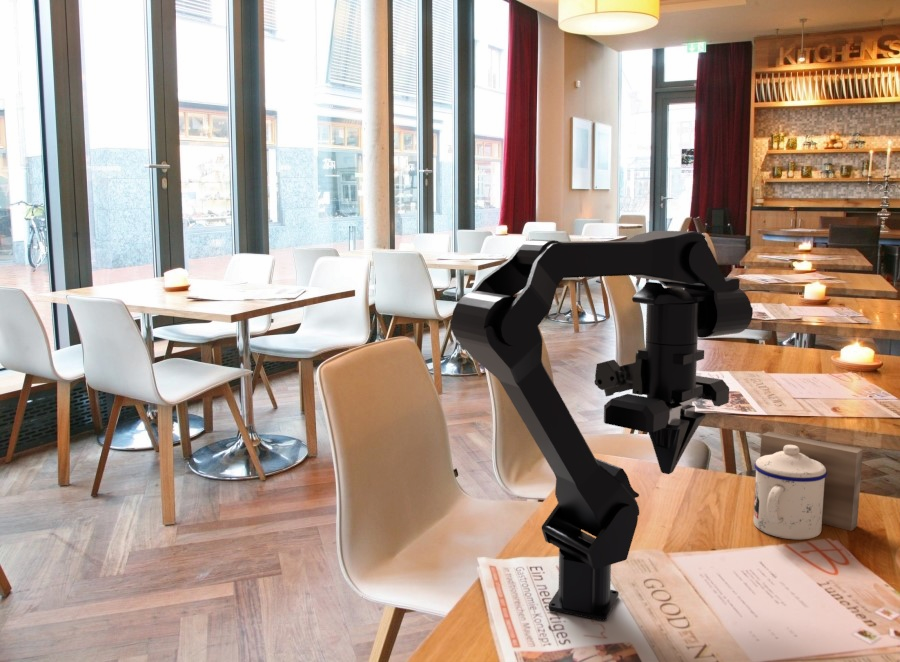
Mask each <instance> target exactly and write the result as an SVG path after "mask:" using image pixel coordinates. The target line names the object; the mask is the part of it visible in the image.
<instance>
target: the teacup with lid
mask: <svg viewBox="0 0 900 662" xmlns="http://www.w3.org/2000/svg"><path fill="white" fill-rule="evenodd" d="M754 469H755V484H754V485H755V486H754V504H753V524H754V526H755V527H756V528H757V529H758V530H760V531H761V532H763V533H764V534H766V535H769V536H772V537H777V538H781V539H785V540H787V539H788V540H799V541H800V540H801V541H802V540H808V539H809V540H810V539H813V538H816V537H818V536H819V535H820V534H821V532H822V525H823V524H822V512H823V496H824V481H825V477H826V476H827V471H826V468H825V467H824V465H823V464H821V463H820V462H818V461H816V460H813V459H810V458H809V457H807V456H806V455H804V454H802V453H799V447H798V446H795V445H785V446H784V448H783V451H779V452H776V453H774V454H772V455H765V456H762V457H760V456H759V457H758V458H757V459H756V461H755V463H754Z"/></svg>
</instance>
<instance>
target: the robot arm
mask: <svg viewBox="0 0 900 662" xmlns="http://www.w3.org/2000/svg"><path fill="white" fill-rule="evenodd" d="M622 276H632V277H636V278H641V279H646V280H650V281H647V282H645V284H644V285H643V287H642V288H641V289H640V290H639V291H637V292H636V293H635V294H634V295H633V296H632V298H631V300H632V302H633V303H636V304H643V305H646V318H645V320H646V321H645V347H644V348H641V349H638V350H637V351H636V353H635V361H634V362H631V363H627V364H622V365H620V364H618V362H617V361H616V360H615V359H610V360H606V361H603V362H599V363H596V367H595V373H594V375H595V376H594V385H595V386H596V387H597V388H598V389H599V390H601V391H604V394H605V397H609V396H611V397H612V396H614V394H616V393H621V392H625V391H629V390H632V392H631V393H626V394H623V395H620V396H616V397H612V398H610V399H609V400H608V401H607V402H606V403H605V404H604V406H603V423H604V424H605V425H611V426H614V427H620V428H625V429H630V430H635V431H638V432H644V433H648V436H649V438H650V440H651V443H652V446H653V449H654V450H653V451H654V453H655V457H656V460H657V464H658V466H659V469H660V472H661V473H663V474H666V475H671V474H672V473H673V472H674V471H675V469H676V467H677V465H678V463H679V461H680V459H681V458H682V456H683V454H684V452H685V450H686V448H687V447H688V445H689V443H690V441H691V439H692V438H693V436H694V435H695V433H696V431H697V429H698V428H699V426H700V425H701V422H703V420H705V419H706V415H707V413H704V412H700V411H696V406H695V405H693V402H695V401H699V400H701V399H702V400H707V401H711V403H712V404H713V405H714V407H722V406H725V405H727V404H728V403H729V402H730V387H729V386H728V385H727V383H726V382H725V381H724V380H723V379H722V378H721V379H720V378H714V377H707V376H701V375H697V368H698V367H697V365H698V364H697V363H698V361H702V360H705V350H704V349H698V343H699V342H698V339H699V338H700V339H702V338H711V337H713V338H714V337H718V336H719V337H720V336H726V335H727V336H728V335H735V334H740V333H742V332H744V331H745V330H746V329H748V327H749V326H750V324H751V321H752V319H753V314H754V311H753V310H754V308H753V306H752V304H751V300H750V298H749V297H748V295H747V294H746V293H745V291H743V290H742V289H741V288H740V282H741V281H740V279H739V278H736V277H735V278H734V277H725V276H724V274H723V272H722V270H721V268H720V266H719V264H718V262H717V260H716V258H715V256H714V254H713V252H712V250H711V247H710V246H709V242H708V241H707V239H706V236H705V234H703V233H702V232H700V231H699V232H698V231H689V230H688V231H685V230H683V231H682V230H652V231H648V232H644V233H640V234H636V235H633V236H632V237H630V238H627V239H624V240H598V241H597V240H591V241H590V240H587V241H584V240H583V241H579V240H577V241H571V240H570V241H559V240H553V239H533V238H532V239H528V240H526V241H525V242H523V243H521V244H520V245H519V246H518V247H517V248H516V249H515V251H514V252H512V254H511V256H510V257H509V258H508V259H507V260H505V261H504V262H502V263H501V264H500V265H499V266H498V267H496V268H495V269H493V270H492V271H491V272H489V273H488V274H486V275H485V276H484V277H483V278H481V280H480V281H479V282H478V284H477V285H476V286H475V287H474V288H473V289H472V291H470V292H468V293H466V294H465V295H463V296H462V297H461V298H460V299H459V300H458V301H457V302H456V305H455V306H454V308H453V311H452V317H451V319H450V322H449V324H450V329H451V331H452V334H453V336H454V338H455V339H456V340H457V341H458V343H459V344H460V345H461V346H462V347H463V349H465V351H466V352H467V353H468V354H469V355H470V356H471V358H473V359H474V360H475V361H476V362H477V363H479V364H480V365H481V366H482V367H483V368H484V369H486V371H488V372H489V373H491V375H493V376H494V377H495V378H496V379H497V380H498V381H499V383H500V384H501V386H502V387H503V388H502V389H503V390H504V391H505V393H506V395H507V396H508V398H509V400H510V401H511V403H512V405H513V406H514V409H515V410H516V411H517V414H518V415H519V417H520V418H521V420H522V422H523V423H524V425H525V427H526V428H527V430H528V432H529V434H530V435H531V437H532V439H533V440H534V442H535V443H536V445H537V447H538V449H539V450H540V452H541V454H542V455H543V457H544V459H545V461H546V463H548V466H549V467H550V469H551V471H552V472H553V474H554V475H555V478H556V479H555V490H554V493H555V494H554V495H555V498H556V501H557V504H556V505H555V507H554V508H553V509H552V511H551V513H550V514H549V516H547V518H546V520H545V521H544V522H543V524H542V525H541V531H542V534H543V538H544V541H545V542H546V543H548V544H551V545H553V546H555V547H556V548H558V589H557V590H556V592H555V594H554V595H553V597H552V598H551V599H550V601H549V603H548V609H549V610H550V611H553V612H559V613H563V614H569V615H573V616H577V617H578V616H579V617H583V618H588V619H594V620H599V621H607V620H608V618H609V616H610V615H611V613H612V611H613V609H614V607H615V604H616V602H617V601H618V599H619V596H620V595H619V591H617V590H615V589H611V585H612V582H611V580H612V578H611V577H612V576H611V574H612V573H611V572H612V565H614V564H618V563H620V562H623V561H626V560H627V559H628V556H629V552H630V549H631V546H632V542H633V539H634V536H635V533H636V529H637V525H638V520H639V516H640V507H639V504H638V501H637V500H636V499H637V498H639V497H640V493H638V492H637V491H635V490H634V488H633V487H632V485H631V482H630V480H629V476H628V475H627V473H626V471H625V470H624V468H622V467H619V466H617V465H614V464H612V463H609V462H606V461H605V460H604V461H603V460H602V459H599V458H596V456H595V455H594V453H593V452H592V450H591V448H590V447H589V445H588V443H587V441H586V439H585V438H584V436H583V434H582V432H581V430H580V428H579V427H578V425H577V423H576V421H575V419H574V417H573V416H572V414H571V413H570V410H569V408H568V407H567V405H566V403H565V401H564V400H563V398H562V396H561V394H560V392H559V391H558V388H556V385H555V384H554V382H553V380H552V378H551V375H549V373H548V371H547V369H546V368H545V366H544V363H543V361H542V357H543V336H542V333H541V331H540V328H539V325H540V324H541V323H542V322H543V320H544V319H545V317H546V316H547V315H548V314H549V313H550V312H551V311H550V310H552V306H553V303H554V300H555V299H554V298H555V295H556V291H557V288H558V286H559V285H560V283H561V282H562V280H564V279H570V278H574V279H575V278H596V277H622ZM653 281H658V282H653ZM518 293H519V294H518ZM517 294H518V295H517ZM516 295H517V296H516ZM643 395H645V396H643ZM729 404H730V403H729Z"/></svg>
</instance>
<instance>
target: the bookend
mask: <svg viewBox="0 0 900 662" xmlns="http://www.w3.org/2000/svg"><path fill="white" fill-rule="evenodd" d="M760 436H761V439H760V452H759V453H760V454H759V458H760V457H762V456H765V455H772V454H774V453H776V452H779V451H783V448H784V446H785V445H795V446H798V447H799V453H802V454H804V455H806V456H807V457H809V458H810V459H813V460H816V461H818V462H820V463H821V464H823V465H824V467H825V468H826V471H827V476H826V477H825V481H824V496H823V512H822V525H827V526H830V527H834V528H837V529H843V530H846V531H850V532H852V531H853V530H854V529H856V528H857V527H858V521H859V520H858V519H859V504H860V495H861V493H860V492H861V491H860V490H861V480H862V479H861V477H862V465H863V453H864V452H863V451H864V449H863V448H859V447H853V446H849V445H848V446H847V445H841V444H838V443H832V442H826V441H821V440H816V439H810V438H806V437H805V438H804V437H801V436H795V435H789V434H783V433H779V432H774V431H773V432H772V431H766V432H764V433H762V434H761V435H760Z"/></svg>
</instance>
